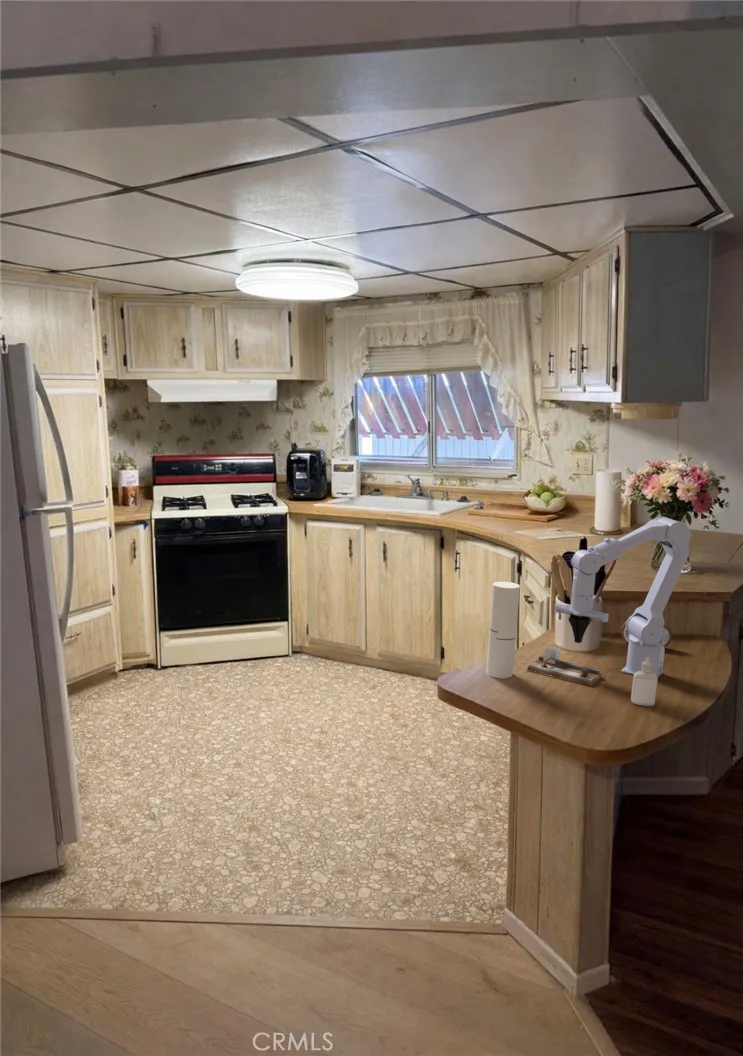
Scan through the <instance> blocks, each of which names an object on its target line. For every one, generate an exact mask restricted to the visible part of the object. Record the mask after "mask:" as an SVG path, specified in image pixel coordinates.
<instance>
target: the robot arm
mask: <svg viewBox="0 0 743 1056" xmlns="http://www.w3.org/2000/svg"><path fill="white" fill-rule="evenodd" d="M692 535H693V534H692V532H691V530H690V529H689V527H688V525H687V524H686V523H685V522H683V521H679V520H674V519H672V518H669V517H666V516H658V517H656V518H655V519H651V520H649V521H647V523H646V524H643V526H640V527H639V528H637V529H635V530H632V531H631V532H629V533H627V534H625V535H624V536H622V537H620V538H618V539H616V538H613V537H611V538H608V537H605V538H603V539H602V540H603V541H602V542H599V543H598V544H596V545H593V546H592V545H590V546H588V547H587V550H586V549H580V550H578V551H576V552H575V553H574V554H573V556H572V558H571V559H570V564H571V566H572V567H573V576H572V585H571V586H572V587H571V588H572V589H571V598H570V605H566V604H565V605H564V604H557V603H556V604H555V605H554V611H553V612H554V613H556V614H558V613H560V614H564V615H569V617H568V622H569V624H570V626H571V629H572V632H573V640H574V643H576V644H580V643H582V642H583V638H584V636H585V633H586V631H587V628H588V627H589V625H590V624H591V622H592V621H593V620H595V621H599V622H601V623H608V622H609V613H605V612H601V611H597V610H595V609H593V606H594V603H593V602H594V593H595V584H596V583H595V582H596V573H598V572H599V571H600V568H601V567H602V566H603V567H604V566H605V565H606V564H609V563H611V562H613V561H615V560H618V559H620V558H621V557H622V556H623V555H624V551H626V550H629V549H631V548H634V547H636V546H639V545H642V544H644V543H646V542H648V541H658V542H659V543H660V544H661V546H662V548H663V550H664V552H665V554H664V555H665V556H664V557H663V560H662V563H661V564H660V567H659V569H658V571H657V573H656V575H655V578H654V579H653V582H652V584H651V586H650V589H649V591H648V593H647V595H646V598H645V600H644V602H643V604H642V605H640V606H639V607H636V608H635V610H634V612H633V613H632V615H630V616H629V617H628V619H627V620H626V621H627V623H626V629H627V631H628V632H629V633H630V634H629V644H628V645H627V647H628V648H627V655H626V656H627V657H626V664H625V666H624V667H623V668H622V669H621V673H625V674H628V675H633V676H634V673H635V672H637V671H641V667H642V662H645V660H646V658H649V661H650V663H652V671H651V672H652V673H654V674H656V676H657V678H659V677H660V676H661V675H662V674H663V669H664V668H663V667H664V659H665V652H666V651H665V648H664V646H661V645H659V644H657V643H658V642H659V641H660V639H661V638H662V634H663V632H662V629H663V626H664V623H665V624H666V622H665V619H664V616H663V615H664V614H663V613H664V611H665V608H666V606H667V605H668V604H667V603H668V602H669V600H670V597H671V595H672V592H673V590H674V588H675V587H676V584H677V582H678V579H679V577H680V575H681V573H682V571H683V569H684V566H685V564H686V562H687V560H688V558H689V555H690V541H691V540H690V539H691V538H692Z"/></svg>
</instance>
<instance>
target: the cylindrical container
mask: <svg viewBox="0 0 743 1056" xmlns="http://www.w3.org/2000/svg"><path fill="white" fill-rule="evenodd" d="M520 590H521V586H520V584H518V583H515V582H511V581H496V582H495V581H494V582H493V583H492V591H491V592H492V593H491V606H490V618H489V619H490V620H489V632H488V633H489V634H488V643H487V659H486V670H485V671H486V675H487V676H490V677H492V678H495V679H508V678H507V677H510V676H512V675H514V663H515V649H516V637H517V627H518V625H517V624H518V613H519V603H520V602H519V600H520ZM512 677H513V676H512ZM510 678H511V677H510Z"/></svg>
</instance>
